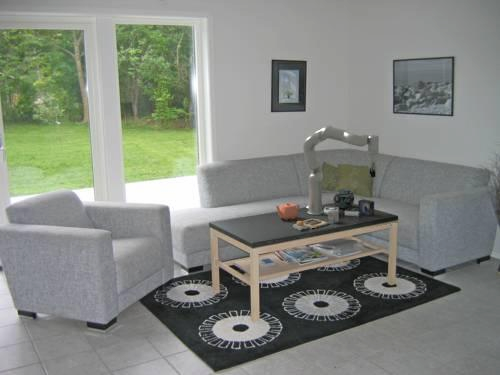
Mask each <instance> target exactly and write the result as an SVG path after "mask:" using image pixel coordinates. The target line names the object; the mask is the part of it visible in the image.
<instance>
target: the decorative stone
mask: <svg viewBox="0 0 500 375" xmlns="http://www.w3.org/2000/svg"><path fill="white" fill-rule="evenodd" d="M333 202H334V205H335V206H336V207H337V208H340V209H348V208H351V207H352V205H353V204H354V202H355V196H354V193H353V192H352V191H351V190H349V189H346V188H340V189H337V191H336V192H334V194H333Z"/></svg>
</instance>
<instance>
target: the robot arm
mask: <svg viewBox="0 0 500 375" xmlns="http://www.w3.org/2000/svg"><path fill="white" fill-rule="evenodd" d="M327 139H329V140H333V141H339V142H341V143H344V144H348V145H352V146H356V147H366V145H367V155H368V169H369V175H370V178H376V174H377V173H376V172H377V171H376V169H377V159H378V158H377V156H379V151H380V150H379V145H380V138H379V135H377V134H376V135H375V134H371V135H370V134H360V135H359V134H358V135H357V134H354V133H350V132H349V131H347V130H345V129H341V128H336V127H333V126H332V125H326V126H324V127H322V128H321V129H320V130H317V131H316V132H314V133H312V134H311V135H309V136H308V137H307V138H306V139H305V140H304V142H303V145H302V148H303V149H302V150H303V154H304V159H305V165H306V168H307V170H309V173H310V174H309V176H308V205H307V206H306V209H307V211H306V213H307V214H308V215H311V216H320V215H323V214H324V213H325V212H324V210H322V208H323V204H322V203H323V200H322V199H323V196H322V194H323V192H322V191H323V189H322V187H323V186H322V181H323V179H324V171H323V168H322V163H321V160H320V158H319V157H317V154H316V149H315V148H316V146H317V145H319V144H320V143H321V142H324V141H325V140H327Z"/></svg>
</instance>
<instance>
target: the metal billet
mask: <svg viewBox="0 0 500 375" xmlns="http://www.w3.org/2000/svg"><path fill="white" fill-rule="evenodd" d="M327 222H328V223H329V224H332V225H333V224H337V223H339V210H335V209H333V210H328V211H327Z"/></svg>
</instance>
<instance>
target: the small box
mask: <svg viewBox="0 0 500 375" xmlns="http://www.w3.org/2000/svg"><path fill="white" fill-rule="evenodd" d="M357 203H358V204H357V206H358V207H357V208H358V209H357V212H358V211H359V212H360V214H359V215H362V216H366V217H372V216H374V215H375V201H374V200H371V199H370V200H368V199H364V198H362V199H360V200H358V202H357Z"/></svg>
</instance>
